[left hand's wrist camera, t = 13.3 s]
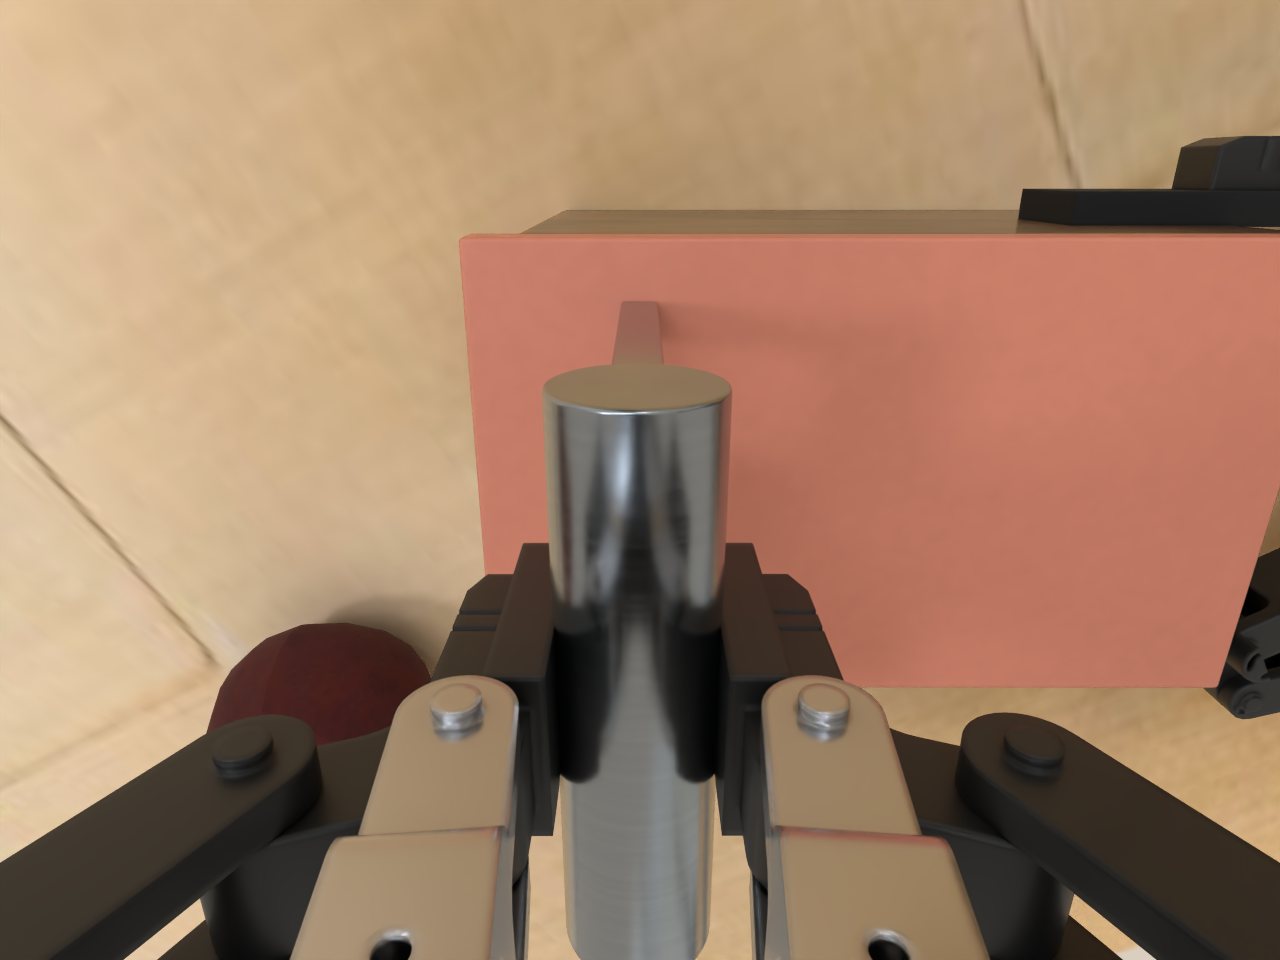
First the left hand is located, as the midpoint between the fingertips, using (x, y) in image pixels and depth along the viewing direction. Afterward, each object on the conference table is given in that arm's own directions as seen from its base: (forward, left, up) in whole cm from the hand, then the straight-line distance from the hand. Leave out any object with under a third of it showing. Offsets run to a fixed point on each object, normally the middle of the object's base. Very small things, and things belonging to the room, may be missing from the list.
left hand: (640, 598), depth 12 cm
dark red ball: (+16, 0, -16) cm, 23 cm away
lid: (-3, +4, -6) cm, 8 cm away
